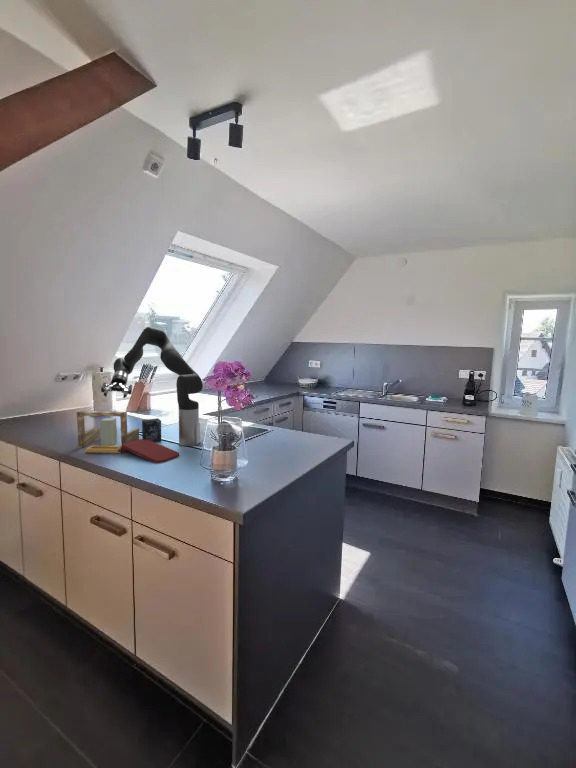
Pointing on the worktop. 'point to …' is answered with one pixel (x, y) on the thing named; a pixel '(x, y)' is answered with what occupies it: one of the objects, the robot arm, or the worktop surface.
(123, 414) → the tunnel
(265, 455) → the worktop surface
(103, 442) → the block
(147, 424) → the box
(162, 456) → the dark red bent panel
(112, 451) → the tray
